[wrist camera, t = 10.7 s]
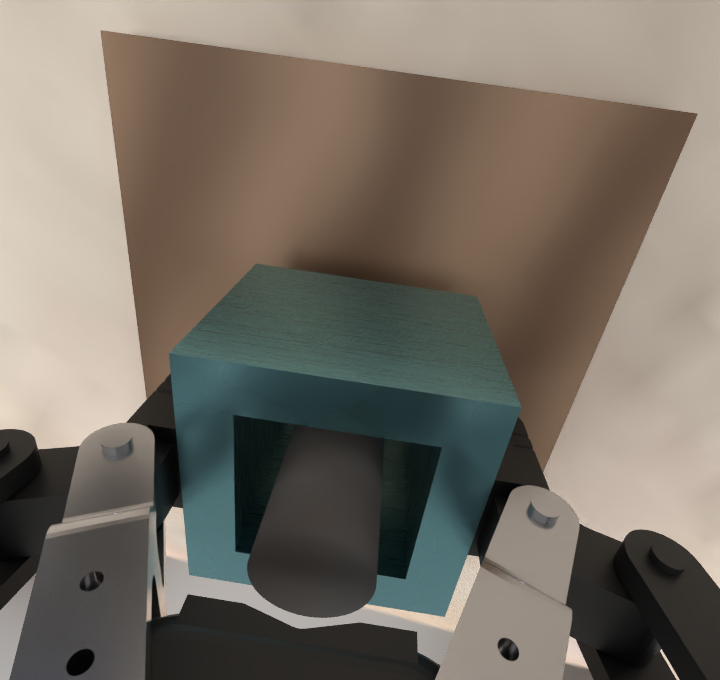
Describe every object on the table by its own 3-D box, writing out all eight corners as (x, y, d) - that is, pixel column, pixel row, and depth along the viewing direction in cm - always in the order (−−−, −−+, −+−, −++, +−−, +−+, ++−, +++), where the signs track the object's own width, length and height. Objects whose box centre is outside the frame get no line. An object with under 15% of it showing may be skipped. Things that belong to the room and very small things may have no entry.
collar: (477, 296, 12) (521, 407, 7) (432, 463, 15) (444, 616, 10) (256, 263, 12) (168, 353, 7) (253, 435, 15) (189, 574, 10)
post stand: (666, 114, 13) (1371, 112, 4) (511, 500, 20) (603, 829, 11) (131, 38, 13) (-535, -147, 4) (171, 447, 21) (-19, 722, 11)
